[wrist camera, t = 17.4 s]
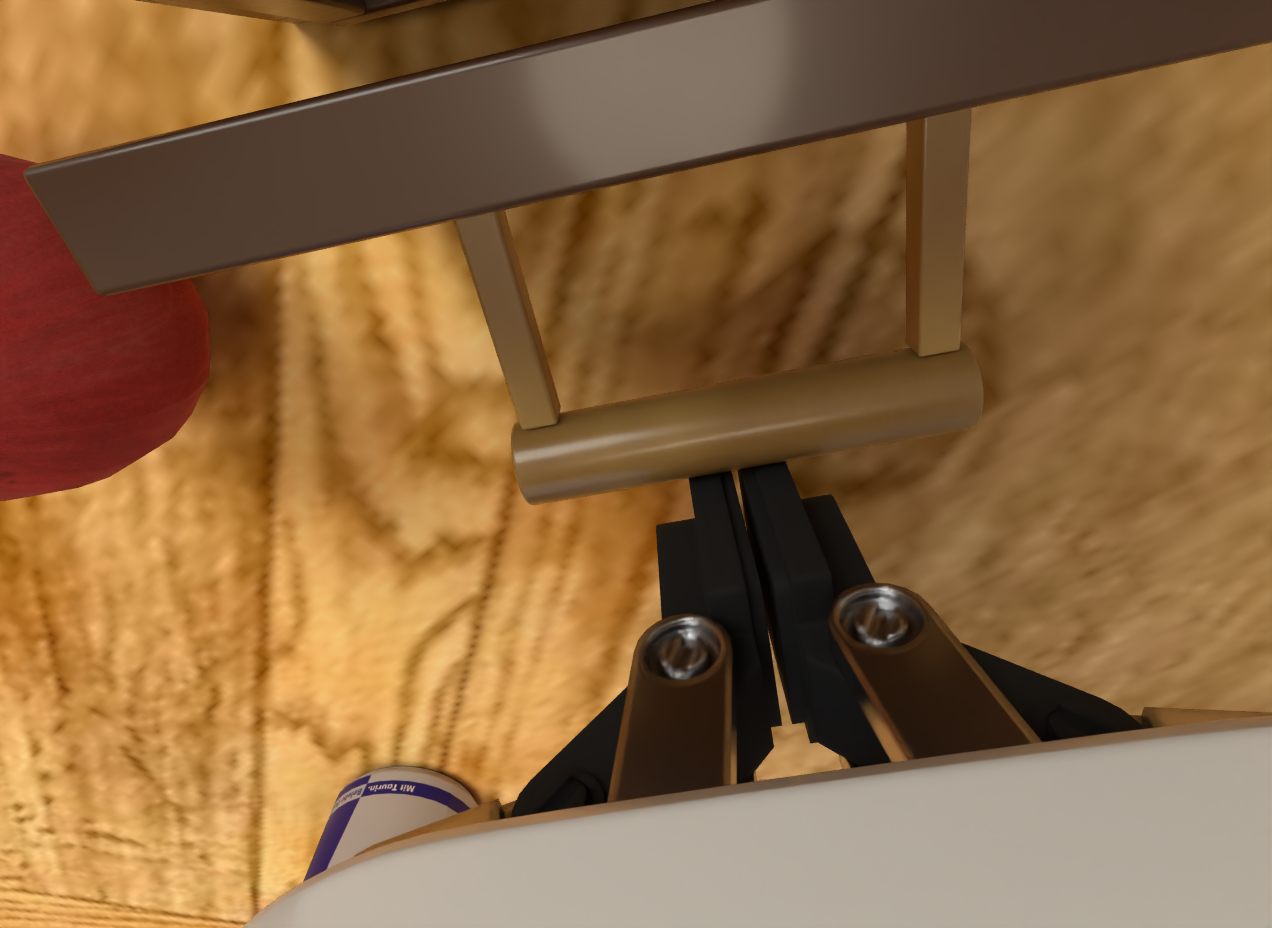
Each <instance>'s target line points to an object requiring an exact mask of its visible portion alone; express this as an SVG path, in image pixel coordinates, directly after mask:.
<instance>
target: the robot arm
mask: <svg viewBox="0 0 1272 928" xmlns="http://www.w3.org/2000/svg"><path fill="white" fill-rule="evenodd" d="M738 476H739V482H740V489H741V495H742V502H743V508H744V515H745V521H746V526H745V522H744V518H743V514H742V511H741V507H740V503H739V499H738V495H737V491H736V488H735V484H734V480H733V476H732V472H731V471H728V472H722V473H717V474H711V475H705V476H699V477H694V478H689V483H690V489H691V496H692V502H693V509H694V515H695V518H693V519H688V520H682V521H676V522H671V523H665V524H660V525H657V526H656V534H657V550H658V565H659V581H660V596H661V612H662V620H660V621H658V622H657V623H655V624H654V625H652V626H651V627H650V628H648V629H647V630H646V631H645V632H644V633H643V635H642V636H641V637H640V638H639V640H638V642H637V645H636V647H635V650H634V654H633V660H632V666H631V671H630V677H629V683H628V686H627V687H626V688H625V689H624V690H623V691H622V692H621V693H620V694H619V695H618V696H617V697H616V698H615V699H614V700H613V701H612V702H611V703H610V704H609V705H608V706H607V707H606V708H605V709H604V710H603V711H602V712H601V713H600V714H599V715H598V716H596V717H595V718H594V719H593V720H592V721H591V722H590V723H589V724H588V725H587V726H586V727H585V728H584V729H583V730H582V731H581V732H580V733H579V734H578V735H577V736H576V737H575V738H574V739H573V740H572V741H571V742H570V743H569V744H568V745H567V746H566V747H565V748H563V749H562V750H561V751H560V752H559V753H558V754H557V755H556V756H555V757H554V758H553V759H552V760H551V761H550V762H549V763H548V764H547V765H546V766H545V767H544V768H543V769H542V770H541V771H540V772H539V773H538V774H537V775H536V776H535V777H534V778H533V779H531V780H530V782H529V783H528V784H527V785H526V787H525V788H524V789H523V790H522V792H521V793H520V794H519V796H518V798H517V800H516V801H513V802H510V803H508V804H505V805H501V803H500V801H499V799H496V800H493V801H490V802H488V803H485V804H482V805H479V806H477V807H474V808H471V809H469V810H466V811H463V812H460V813H458V814H455V815H452V816H450V817H447V818H444V819H442V820H439V821H436V822H433V823H431V824H428V825H425V826H423V827H420V828H417V829H414V830H412V831H409V832H406V833H404V834H401V835H398V836H396V837H393V838H390V839H387V840H385V841H382V842H379V843H377V844H374V845H372V846H370V847H368V848H366V849H365V850H363V851H361V852H359V853H357V854H356V855H355V856H353V857H352V858H350V859H348V860H345V861H342V862H340V863H338V864H336V865H334V866H333V867H331V868H329V869H327V870H325V871H323V872H321V873H319V874H317V875H316V876H314V877H312V878H310V879H308V880H306V881H304V882H302V883H300V884H299V885H297V886H296V887H294V888H293V889H291V890H289V891H288V892H286V893H285V894H283V895H282V896H280V897H279V898H277V899H276V900H275V901H273V902H272V903H271V904H269V905H268V906H267V907H265V908H264V909H262V910H261V911H260V912H258V913H257V914H256V915H255V916H254V917H253V918H252V919H251V920H250V921H249V922H248V923H247V924H245V925H244V926H243V927H242V928H1272V713H1268V712H1246V711H1224V710H1201V709H1179V708H1157V707H1144V708H1143V712H1142V716H1140V715H1129V714H1127V713H1126V712H1125V711H1124V710H1122V709H1121V708H1119V707H1117V706H1115V705H1113V704H1111V703H1109V702H1107V701H1105V700H1103V699H1101V698H1099V697H1097V696H1094V695H1092V694H1089V693H1087V692H1084V691H1081V690H1079V689H1076V688H1074V687H1071V686H1069V685H1066V684H1064V683H1061V682H1059V681H1056V680H1054V679H1051V678H1049V677H1046V676H1044V675H1041V674H1039V673H1036V672H1034V671H1031V670H1029V669H1026V668H1024V667H1021V666H1019V665H1016V664H1014V663H1011V662H1009V661H1006V660H1004V659H1001V658H999V657H996V656H994V655H991V654H988V653H986V652H983V651H981V650H978V649H976V648H973V647H971V646H968V645H966V644H963V643H961V642H960V641H959V640H958V639H957V637H956V636H955V635H954V634H953V633H952V631H951V630H950V629H949V628H948V627H947V625H946V624H945V623H944V622H943V620H942V619H941V618H940V617H939V616H938V614H937V613H936V612H935V611H934V609H933V608H932V607H931V606H930V605H929V604H928V603H927V602H926V601H925V600H924V599H923V598H922V597H921V596H919V595H918V594H916V593H914V592H912V591H910V590H908V589H906V588H904V587H900V586H897V585H893V584H888V583H875V581H874V579H873V577H872V575H871V573H870V571H869V568H868V566H867V564H866V562H865V560H864V558H863V556H862V554H861V552H860V550H859V548H858V546H857V544H856V542H855V540H854V538H853V536H852V534H851V532H850V530H849V527H848V525H847V523H846V521H845V519H844V517H843V515H842V513H841V511H840V509H839V507H838V505H837V503H836V501H835V499H834V497H833V496H832V495H831V494H828V495H822V496H817V497H811V498H806V499H801V498H800V496H799V493H798V491H797V489H796V486H795V484H794V481H793V479H792V476H791V474H790V471H789V469H788V466H787V464H786V462H780V463H774V464H768V465H762V466H757V467H751V468H745V469H739V470H738ZM746 528H747V530H746ZM767 627H768V628H767ZM768 631H769V634H768ZM769 635H770V639H771V643H772V647H773V651H774V655H775V659H776V663H777V667H778V670H779V674H780V678H781V682H782V686H783V690H784V694H785V698H786V702H787V706H788V710H789V714H790V718H791V721H792V724H797V723H803V722H805V726H806V729H807V733H808V737H809V740H810V743H816V742H818V743H820V744H821V745H823V746H825V747H827V748H828V749H830V750H832V751H834V752H835V753H837V754H839V758H840V763H841V766H842V769H841V770H834V771H827V772H820V773H813V774H806V775H798V776H791V777H784V778H777V779H770V780H763V781H757V776H756V771H755V770H756V769H757V768H758V767H759V765H760V764H761V763H762V761H763V760H764V759H765V758H766V756H767V755H768V754H769V753H770V751H771V750H772V749H773V748H774V744H773V738H772V731H771V727H776V726H782V721H781V715H780V708H779V701H778V695H777V688H776V681H775V675H774V668H773V661H772V654H771V648H770V641H769Z"/></svg>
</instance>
